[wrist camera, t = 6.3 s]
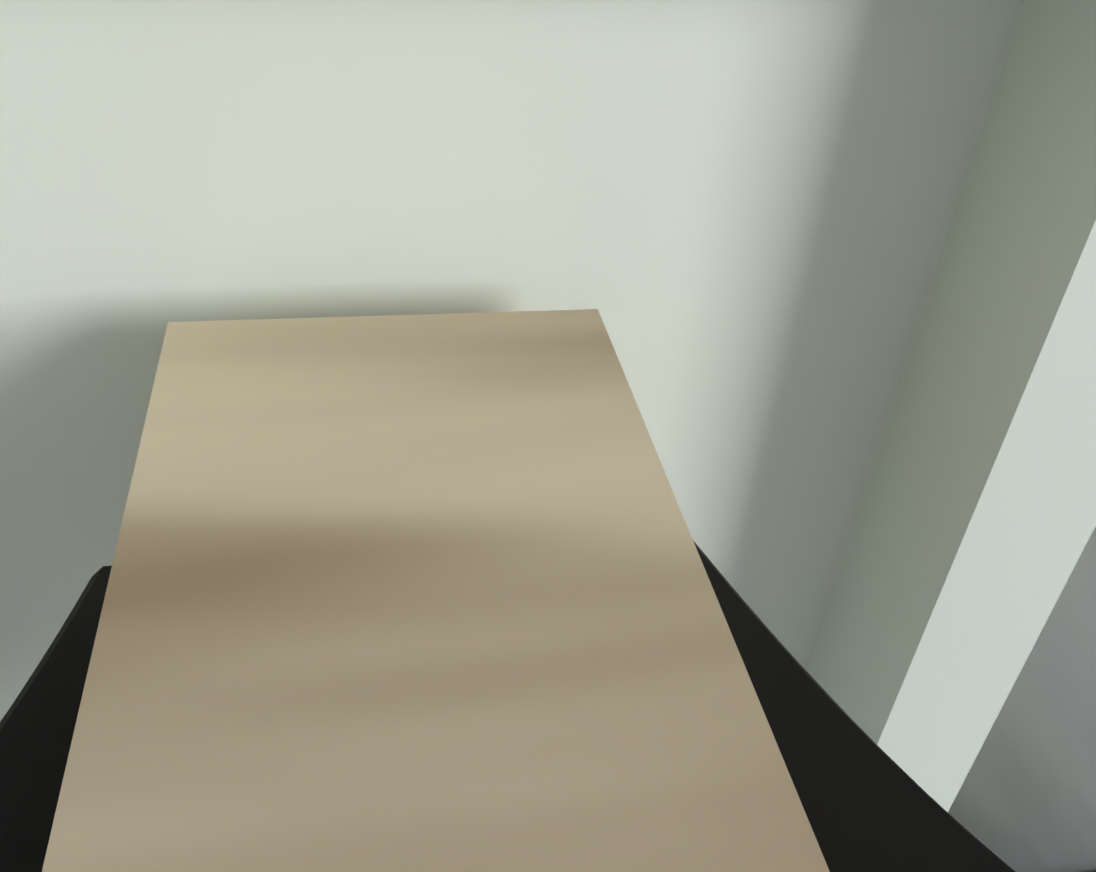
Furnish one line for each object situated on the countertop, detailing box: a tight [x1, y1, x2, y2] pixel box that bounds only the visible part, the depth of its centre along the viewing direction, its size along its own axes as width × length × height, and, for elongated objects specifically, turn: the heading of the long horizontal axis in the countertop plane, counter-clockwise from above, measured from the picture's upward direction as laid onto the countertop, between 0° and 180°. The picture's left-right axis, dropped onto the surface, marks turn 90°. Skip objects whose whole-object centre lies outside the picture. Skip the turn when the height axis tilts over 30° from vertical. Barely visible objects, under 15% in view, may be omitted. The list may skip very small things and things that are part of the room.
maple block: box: [42, 309, 830, 872], centre depth 9 cm, size 4×4×6 cm
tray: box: [0, 0, 1096, 812], centre depth 11 cm, size 15×15×2 cm
